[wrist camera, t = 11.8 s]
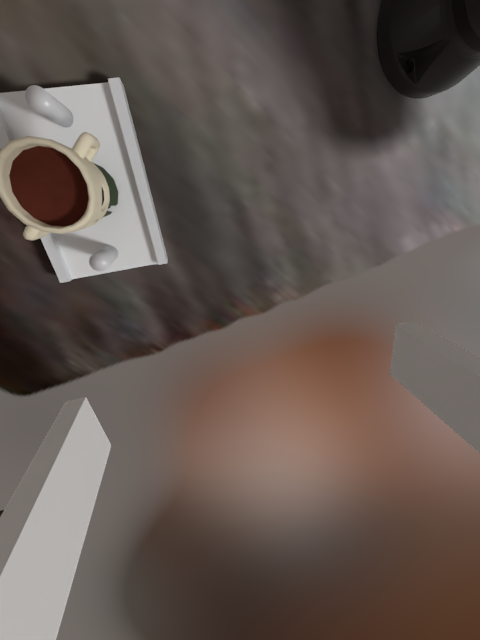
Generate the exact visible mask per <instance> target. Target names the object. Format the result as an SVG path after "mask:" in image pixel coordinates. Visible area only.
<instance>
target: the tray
mask: <svg viewBox="0 0 480 640" xmlns="http://www.w3.org/2000/svg"><path fill="white" fill-rule="evenodd" d="M83 132H87V133H90V134H92V135H93V136H94V137H96V138H97V139H98V141H99V142H100V147H99V150H98V152H97V154H96V155H95V157H94V159H93V160H92V162H93V163H95V164H97V165H99V166H101V167H103V168H104V169H105V170H106V171H107V172H108V173H109V174H110V175H111V177H112V178H113V179H114V181H115V184H116V187H117V189H118V204H117V205H116V206H111V207H110V208H109V209H108V210H107V211H111V212H112V213H111V214H110V215H107V216H105V217H103V218H102V219H101V220H99V221H98V222H97V223H96V224H95V225H92V226H90V227H87V228H84V229H81V230H78V231H75V232H68V233H65V234H59V233H49V232H48V234H47V235H46V236H44V237H43V238H40V239H41V241H42V243H43V245H44V248H45V250H46V252H47V254H48V257H49V259H50V261H51V263H52V266H53V268H54V270H55V272H56V274H57V277H58V279H59V281H60V283H63V282H68V281H71V280H72V279H76V278H81V277H87V276H92V275H98V274H103V273H109V272H114V271H120V270H125V269H130V268H136V267H141V266H147V265H152V264H158V265H161V264H166V263H167V262H168V258H167V254H166V250H165V246H164V242H163V238H162V234H161V230H160V226H159V222H158V219H157V215H156V211H155V207H154V203H153V199H152V195H151V191H150V187H149V183H148V179H147V176H146V172H145V168H144V164H143V160H142V156H141V152H140V148H139V144H138V140H137V136H136V132H135V129H134V125H133V121H132V117H131V113H130V109H129V105H128V101H127V97H126V93H125V89H124V86H123V84H122V82H121V80H120V78H110V79H108V82H107V83H97V84H87V85H76V86H66V87H56V88H46V89H43V88H41V87H40V86H37V85H32V86H29V87H28V88H27V89H26V91H16V92H5V93H0V149H2V148H3V147H4V146H5V145H6V144H7V143H8V142H9V141H11V140H15V139H18V138H22V137H26V136H32V137H39V138H45V139H51V140H54V141H56V142H58V143H60V144H63V145H65V146H67V147H69V148H71V149H72V147H73V146H74V144H75V142H76V141H77V139H78V137H79V136H80V135H81V134H82V133H83Z"/></svg>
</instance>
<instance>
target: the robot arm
mask: <svg viewBox="0 0 480 640" xmlns="http://www.w3.org/2000/svg"><path fill="white" fill-rule="evenodd" d="M378 50H379V56H380V60H381V64H382V67H383V70H384V72H385V74H386V76H387V78H388V80H389V81H390V83H391V84H392V85H393V87H394V88H395V89H396V90H398V91H399V92H400V93H402V94H404V95H406V96H408V97H412V98H426V97H430V96H432V95H435V94H437V93H440V92H442V91H445V90H447V89H449V88H451V87H453V86H454V85H456V84H457V83H459V82H460V81H461V80H463V79H464V78H465V77H466V76H467V75H469V74H470V73H471V72H472V71H473V70H475V69H476V68H477V67H478V66H479V65H480V0H383V1H382V4H381V9H380V14H379V21H378ZM390 375H391V376H392V377H394V378H395V379H396V380H397V381H398V382H399V383H400V384H401V385H403V386H404V387H405V388H406V389H407V390H408V391H410V392H411V393H412V394H413V395H414V396H415V397H416V398H418V399H419V400H420V401H421V402H422V403H423V404H424V405H425V406H427V407H428V408H429V409H430V410H431V411H432V412H433V413H434V414H436V415H437V416H438V417H439V418H440V419H441V420H442V421H444V422H445V423H446V424H447V425H448V426H449V427H450V428H452V429H453V430H454V431H455V432H456V433H457V434H458V435H459V436H461V437H462V438H463V439H464V440H465V441H466V442H467V443H469V444H470V445H471V446H472V447H473V448H474V449H475V450H477V451H478V452H479V453H480V358H479V357H477V356H475V355H473V354H472V353H470V352H468V351H466V350H464V349H463V348H461V347H459V346H457V345H455V344H454V343H452V342H450V341H448V340H447V339H445V338H443V337H441V336H439V335H438V334H435V333H434V332H432V331H430V330H429V329H427V328H425V327H423V326H421V325H420V324H417V323H416V322H414V321H412V320H411V321H406V322H402V323H398V324H396V328H395V336H394V345H393V352H392V361H391V369H390ZM110 448H111V444H110V442H109V440H108V438H107V437H106V434H105V433H104V431H103V429H102V427H101V425H100V423H99V421H98V419H97V417H96V415H95V414H94V412H93V410H92V408H91V406H90V404H89V402H88V400H87V398H86V397H83V398H79V399H75V400H70V401H66V402H65V403H64V405H63V407H62V408H61V410H60V412H59V414H58V415H57V417H56V419H55V421H54V422H53V424H52V426H51V428H50V430H49V431H48V433H47V435H46V437H45V438H44V440H43V442H42V444H41V446H40V448H39V449H38V451H37V453H36V454H35V456H34V458H33V460H32V462H31V463H30V465H29V467H28V469H27V470H26V472H25V474H24V476H23V477H22V479H21V481H20V483H19V485H18V486H17V488H16V490H15V492H14V493H13V495H12V497H11V499H10V500H9V502H8V504H7V506H6V508H5V509H4V510H2V511H0V640H56V637H57V634H58V631H59V627H60V624H61V620H62V617H63V613H64V610H65V606H66V603H67V599H68V595H69V592H70V589H71V585H72V581H73V578H74V574H75V571H76V567H77V564H78V560H79V557H80V553H81V550H82V546H83V542H84V539H85V536H86V532H87V529H88V525H89V522H90V518H91V515H92V511H93V508H94V504H95V501H96V497H97V494H98V490H99V487H100V483H101V479H102V476H103V472H104V469H105V466H106V462H107V459H108V455H109V452H110Z"/></svg>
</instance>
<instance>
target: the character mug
mask: <svg viewBox="0 0 480 640" xmlns="http://www.w3.org/2000/svg"><path fill="white" fill-rule="evenodd" d="M99 147H100V142H99V141H98V139H97V138H96V137H94V136H93V135H92V134H90V133H87V132H83V133H82V134H81V135H80V136H79V137H78V139H77V141H76V142H75V144H74V146H73V147H72V149H71V148H69V147H67V146H65V145H63V144H60V143H58V142H56V141H54V140H51V139H45V138H39V137H32V136H26V137H22V138H18V139H15V140H11V141H9V142H8V143H7V144H6V145H5V146H4V147H3V148H2V149H1V150H0V197H1V199H2V201H3V202H4V204H5V205H6V207H7V209H8V210H9V211H10V212H11V213H12V214H13V215H15V216H16V217H17V218H18V219H19V220H20V221H22V222H23V223H24V224H25V225H27V226H26V227H25V229H24V233H23V236H24V237H25V239H27V240H32V241H33V240H36V239H40V238H43V237H44V236H46V235H47V234H48V232H49V233H59V234H65V233H68V232H75V231H78V230H81V229H84V228H87V227H90V226H92V225H95V224H96V223H97V222H98V221H99V220H101V219H102V218H103V217H105V216H107V215H110V214H111V213H112V212H111V211H107V210H108V209H109V208H110V207H111V206H116V205H117V204H118V189H117V187H116V184H115V181H114V179H113V178H112V177H111V175H110V174H109V173H108V172H107V171H106V170H105V169H104V168H103V167H101V166H99V165H97V164H95V163H93V162H92V160H93V159H94V157H95V155H96V154H97V152H98V150H99Z"/></svg>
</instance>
